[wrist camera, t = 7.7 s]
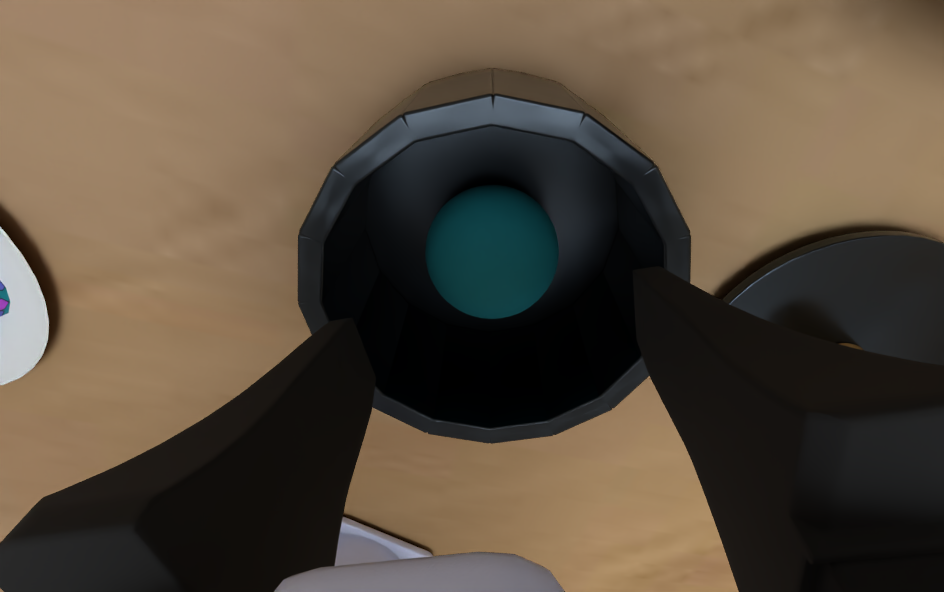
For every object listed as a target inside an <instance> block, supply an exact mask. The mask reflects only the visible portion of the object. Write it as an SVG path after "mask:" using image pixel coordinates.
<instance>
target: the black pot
mask: <svg viewBox="0 0 944 592" xmlns="http://www.w3.org/2000/svg"><path fill="white" fill-rule="evenodd" d="M482 185H502V186H508V187H511V188H515V189H517V190H520V191H522V192H523V193H525V194H527V195H529V196H530V197H531V198H533V199H534V200H535V201H536V202H538V203H539V204H540V205H541V206H542V207H543V209H544V210H545V211H546V213H547V214H548V216H549V218H550V219H551V221H552V223H553V225H554V228H555V231H556V234H557V239H558V245H559V257H558V265H557V269H556V273H555V275H554V278H553V280H552V282H551V284H550V286H549V287H548V289H547V290H546V292H545V293H544V294H543V295H542V297H541V298H540V299H539V300H538V301H536V302H535V303H534V304H533V305H532V306H530V307H529V308H527V309H526V310H524V311H522V312H520V313H518V314H515V315H512V316H509V317H504V318H497V319H487V318H479V317H475V316H471V315H469V314H466V313H464V312H462V311H460V310H458V309H457V308H455V307H453V306H452V305H451V304H450V303H448V302H447V301H446V300H445V299H444V298H443V297H442V296H441V295H440V293H439V292H438V290H437V289H436V287H435V286H434V284H433V282H432V280H431V278H430V275H429V273H428V269H427V264H426V257H425V249H426V239H427V235H428V231H429V229H430V226H431V224H432V222H433V220H434V218H435V216H436V215H437V213H438V212H439V211H440V209H441V208H442V207H443V206H444V205H445V204H446V203H447V202H448V201H449V200H450V199H452V198H453V197H454V196H456V195H458V194H459V193H461V192H463V191H465V190H468V189H470V188H473V187H477V186H482ZM655 266H660V267H662V268H664V269H666V270H667V271H669V272H671V273H673V274H675V275H676V276H678V277H680V278H682V279H683V280H685V281H687V282H689V283H690V270H691V235H690V230H689V228H688V226H687V224H686V222H685V220H684V218H683V216H682V214H681V212H680V210H679V208H678V206H677V204H676V202H675V200H674V198H673V196H672V194H671V192H670V190H669V188H668V186H667V184H666V182H665V180H664V178H663V176H662V174H661V172H660V170H659V168H658V166H657V165H656V164H655V163H654V162H653V161H652V160H651V159H650V158H649V157H648V156H647V155H646V154H645V153H644V152H643V151H642V150H640V149H639V148H638V147H637V146H636V145H635V144H634V143H633V142H632V141H631V140H630V139H629V138H627V137H626V136H625V135H624V134H623V133H622V132H621V131H620V130H619V129H618V128H617V127H615V126H614V125H613V124H612V123H611V122H610V121H609V120H608V119H607V118H606V117H604V116H603V115H602V114H600V113H599V112H598V111H596V110H595V109H594V108H592V107H591V106H590V105H588V104H587V103H586V102H584V101H583V100H582V99H581V98H579V97H578V96H576V95H575V94H574V93H572V92H571V91H570V90H568V89H567V88H566V87H564V86H563V85H561V84H560V83H557V82H556V81H553V80H549V79H544V78H540V77H537V76H533V75H530V74H526V73H522V72H514V71H507V70H501V69H496V68H493V69H490V68H489V69H485V70H479V71H473V72H466V73H460V74H457V75H453V76H450V77H447V78H444V79H440V80H436V81H432V82H429V83H428V84H425V85H423V86H422V87H421V88H420V89H418V90H417V91H416V92H414V93H413V94H412V95H410V96H409V97H407V98H406V99H404V100H403V101H402V102H401V103H400V104H399V105H397V106H396V107H395V108H393V109H392V110H391V111H389V112H388V113H387V114H386V115H384V116H383V117H382V118H380V119H379V120H378V121H377V122H376V123H375V124H374V125H373V126H372V127H371V128H370V129H369V130H368V131H367V132H366V133H365V134H364V135H363V136H362V137H361V138H360V139H359V140H358V141H357V142H356V143H355V144H354V145H353V146H352V147H351V148H350V149H349V150H348V151H347V152H346V153H345V154H343V155H342V156H341V157H340V158H339V159H338V160H337V161H336V162H335V164H334V165H333V166H332V167H331V169H330V171H329V173H328V175H327V177H326V179H325V181H324V183H323V185H322V187H321V189H320V191H319V193H318V195H317V197H316V198H315V200H314V202H313V204H312V206H311V208H310V210H309V212H308V214H307V216H306V218H305V220H304V222H303V224H302V226H301V228H300V231H299V235H298V305H299V307H300V309H301V312H302V314H303V316H304V318H305V320H306V323H307V325H308V327H309V329H310V331H311V334H312V335H313V334H314V333H315V332H316V331H318V330H319V329H320V328H321V327H323V326H324V325H325V324H327V323H328V322H330V321H334V320H340V319H345V318H351V317H352V318H353V320H354V323H355V325H356V328H357V330H358V333H359V335H360V338H361V340H362V343H363V346H364V348H365V351H366V353H367V356H368V358H369V361H370V363H371V366H372V368H373V371H374V373H375V376H376V383H375V391H374V398H373V405H372V407H373V408H375V409H377V410H379V411H381V412H383V413H385V414H387V415H390V416H392V417H394V418H396V419H398V420H400V421H402V422H404V423H406V424H408V425H410V426H412V427H414V428H417V429H419V430H421V431H423V432H425V433H427V432H428V434H432V435H438V436H445V437H451V438H457V439H464V440H470V441H477V442H483V443H500V442H508V441H516V440H523V439H531V438H539V437H547V436H553V435H556V434H558V433H561V432H563V431H565V430H567V429H570V428H572V427H574V426H576V425H579V424H581V423H583V422H585V421H588V420H590V419H592V418H594V417H597V416H599V415H601V414H603V413H606V412H608V411H610V410H612V408H615V407H616V406H617V405H618V404H619V403H620V402H621V401H622V400H623V399H624V398H625V397H627V396H628V395H629V394H630V393H631V392H632V391H633V390H634V389H635V388H636V387H637V386H639V385H640V384H641V383H642V382H643V381H644V380H645V379H646V378H647V377H648V376H649V373H648V371H647V368H646V366H645V363H644V360H643V357H642V354H641V351H640V348H639V345H638V342H637V339H636V324H635V306H634V288H633V270H637V269H643V268H649V267H655Z"/></svg>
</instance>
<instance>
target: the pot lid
mask: <svg viewBox="0 0 944 592" xmlns="http://www.w3.org/2000/svg"><path fill="white" fill-rule="evenodd" d="M722 301H724V302H726V303H728V304H730V305H732V306H735V307H737V308H739V309H741V310H743V311H746V312H748V313H750V314H752V315H754V316H757V317H759V318H762V319H764V320H767V321H769V322H772V323H775V324H777V325H780V326H783V327H786V328H788V329H791V330H794V331H797V332H800V333H803V334H806V335H809V336H812V337H816V338H819V339H823V340H826V341H830V342H834V343H837V344H841V345H844V346H848V347H852V348H856V349H860V350H865V351H869V352H873V353H878V354H883V355H888V356H893V357H898V358H902V359H907V360H912V361H918V362H923V363H930V364H937V365H944V243H943V242H941V241H939V240H936V239H934V238H931V237H927V236H923V235H920V234H916V233H909V232H901V231H866V232H857V233H849V234H845V235H840V236H836V237H831V238H827V239H824V240H821V241H818V242H815V243H812V244H809V245H806V246H803V247H801V248H799V249H796V250H794V251H792V252H789V253H787V254H785V255H783V256H781V257H779V258H777V259H776V260H774V261H772V262H770V263H768V264H767V265H765V266H763V267H762V268H760V269H759V270H757V271H756V272H754V273H753V274H752V275H750V276H749V277H747V278H746V279H745V280H743V281H742V282H741V283H740V284H739V285H737V286H736V287H735V288H734V289H733V290H731V291H730V292H729V293H728V294H727V295H726V296H725V297H724V298H723V299H722Z"/></svg>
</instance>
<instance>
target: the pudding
mask: <svg viewBox="0 0 944 592" xmlns="http://www.w3.org/2000/svg"><path fill="white" fill-rule="evenodd" d="M48 331H49V319H48V313H47V308H46V303H45V299H44V297H43V294H42V292H41V289H40V286H39V284H38V281H37V279H36V277H35V275H34V274H33V272H32V270H31V268H30V267H29V265H28V263H27V262H26V260H25V258H24V256H23V255H22V254H21V252H20V251H19V250H18V248H17V247H16V246H15V244H14V243H13V242H12V241H11V239H10V238H9V237H8V235H7V234H6V233H5V232H4V230H3V229H2V228H1V227H0V385H4V384H7V383H9V382H12V381H14V380H16V379H19V378H21V377H22V376H23V375H25V374H26V373H27V372H29V371H30V370H31V369H33V368H34V366H35V365H36V364H37V362H38V361H39V360H40V358H41V357H42V355H43V353H44V350H45V347H46V344H47V341H48Z"/></svg>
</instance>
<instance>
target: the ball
mask: <svg viewBox="0 0 944 592" xmlns="http://www.w3.org/2000/svg"><path fill="white" fill-rule="evenodd" d="M425 257H426V264H427V269H428V273H429V275H430V278H431V280H432V282H433V284H434V286H435V287H436V289H437V290H438V292H439V293H440V295H441V296H442V297H443V298H444V299H445V300H446V301H447V302H448V303H450V304H451V305H452V306H453V307H455V308H457V309H458V310H460V311H462V312H464V313H466V314H469V315H471V316H475V317H479V318H487V319H497V318H504V317H509V316H512V315H515V314H518V313H520V312H522V311H524V310H526V309H527V308H529V307H530V306H532V305H533V304H534V303H535V302H536V301H538V300H539V299H540V298H541V297H542V295H543V294H544V293H545V292H546V290H547V289H548V287H549V286H550V284H551V282H552V280H553V278H554V275H555V273H556V269H557V265H558V257H559V245H558V239H557V234H556V231H555V228H554V225H553V223H552V221H551V219H550V218H549V216H548V214H547V213H546V211H545V210H544V209H543V207H542V206H541V205H540V204H539V203H538V202H536V201H535V200H534V199H533V198H531V197H530V196H529V195H527V194H525V193H523V192H522V191H520V190H517V189H515V188H511V187H508V186H502V185H482V186H477V187H473V188H470V189H468V190H465V191H463V192H461V193H459V194H458V195H456V196H454V197H453V198H452V199H450V200H449V201H448V202H447V203H446V204H445V205H444V206H443V207H442V208H441V209H440V211H439V212H438V213H437V215H436V216H435V218H434V220H433V222H432V224H431V226H430V229H429V231H428V235H427V239H426V249H425Z"/></svg>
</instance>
